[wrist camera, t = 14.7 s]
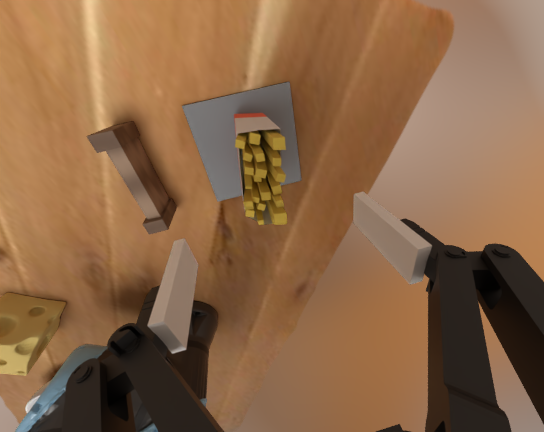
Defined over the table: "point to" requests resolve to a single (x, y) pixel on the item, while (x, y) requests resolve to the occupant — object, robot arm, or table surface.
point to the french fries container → (260, 167)
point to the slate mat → (221, 134)
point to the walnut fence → (136, 173)
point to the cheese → (25, 330)
